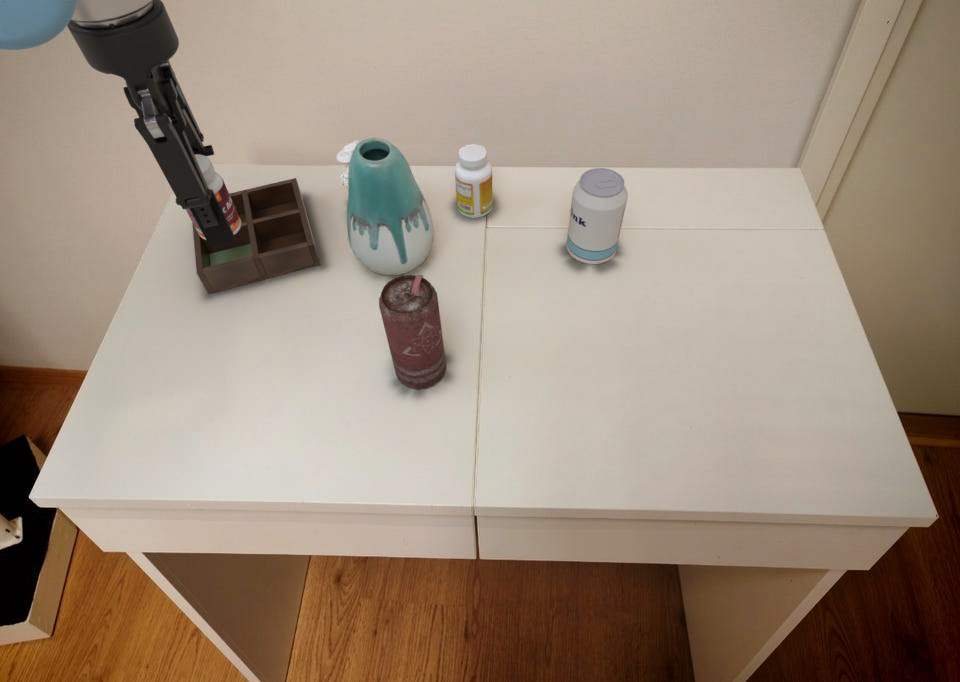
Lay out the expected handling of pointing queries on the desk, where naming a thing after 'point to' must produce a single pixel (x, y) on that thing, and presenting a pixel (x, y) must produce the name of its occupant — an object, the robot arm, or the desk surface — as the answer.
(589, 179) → the beverage can
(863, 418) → the desk surface
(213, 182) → the pill bottle
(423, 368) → the red cylinder
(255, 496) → the desk surface
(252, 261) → the holder
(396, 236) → the vase
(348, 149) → the flower shoulder figurine
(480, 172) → the supplement bottle
